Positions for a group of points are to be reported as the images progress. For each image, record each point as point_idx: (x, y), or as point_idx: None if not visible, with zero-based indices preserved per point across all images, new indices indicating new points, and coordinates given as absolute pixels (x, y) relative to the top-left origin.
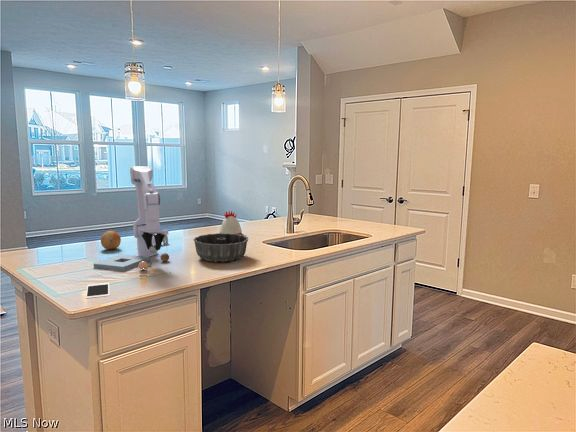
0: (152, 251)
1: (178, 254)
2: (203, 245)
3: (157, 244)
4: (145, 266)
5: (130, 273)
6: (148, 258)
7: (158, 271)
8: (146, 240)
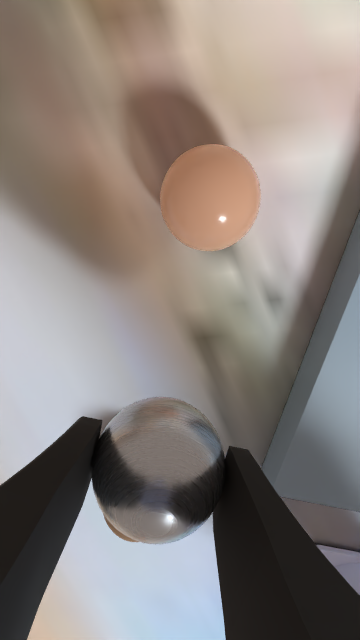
0: (156, 397)
1: (131, 620)
2: None
3: (19, 471)
4: (170, 167)
5: (293, 72)
6: (272, 477)
7: (54, 185)
8: (297, 583)
